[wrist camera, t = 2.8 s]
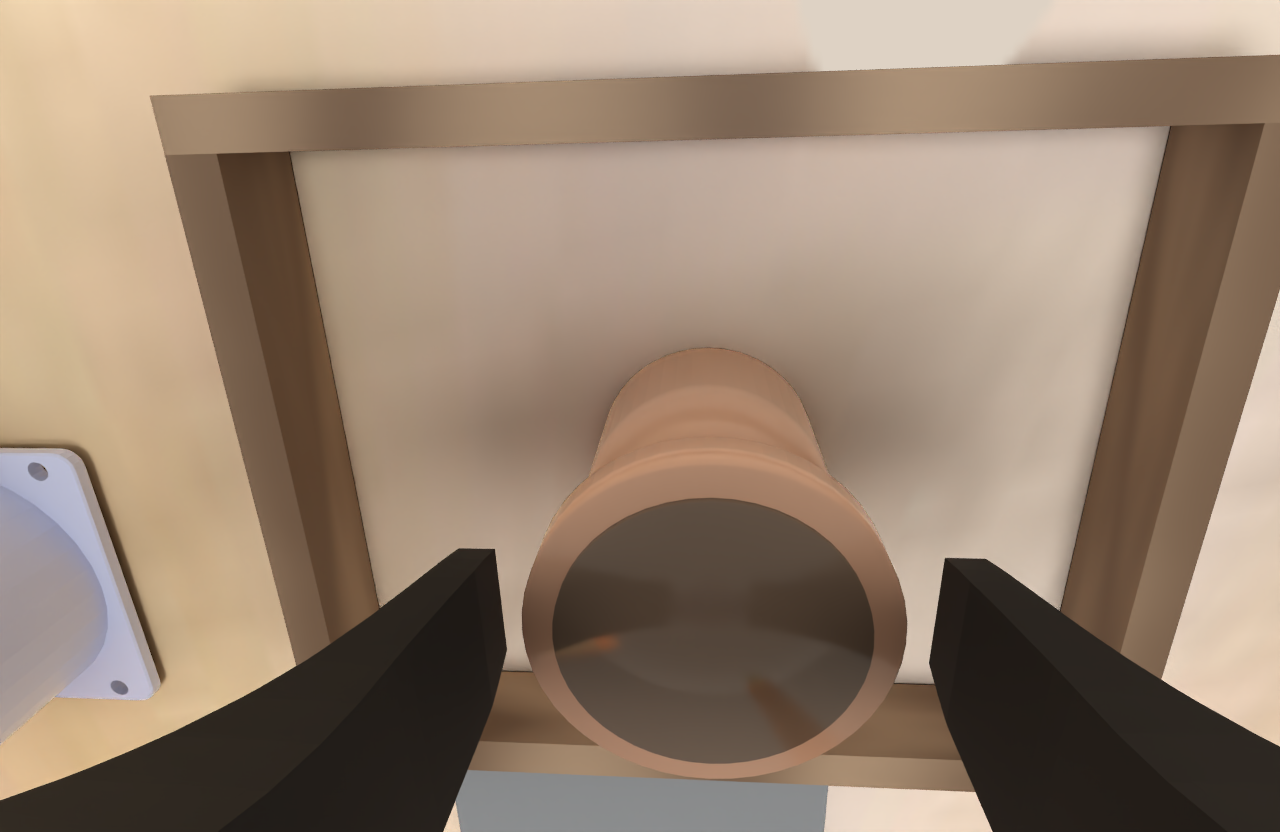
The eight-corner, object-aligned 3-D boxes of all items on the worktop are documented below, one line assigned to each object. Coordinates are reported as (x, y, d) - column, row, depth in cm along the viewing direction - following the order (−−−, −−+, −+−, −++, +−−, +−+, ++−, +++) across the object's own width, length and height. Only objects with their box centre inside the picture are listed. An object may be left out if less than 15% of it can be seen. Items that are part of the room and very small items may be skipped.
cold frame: (362, 694, 21) (321, 763, 19) (233, 99, 15) (150, 95, 13) (1074, 718, 20) (1124, 798, 17) (1240, 64, 14) (1351, 52, 11)
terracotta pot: (593, 548, 19) (536, 778, 12) (580, 331, 17) (501, 468, 10) (820, 552, 18) (889, 794, 12) (837, 330, 16) (933, 472, 10)
